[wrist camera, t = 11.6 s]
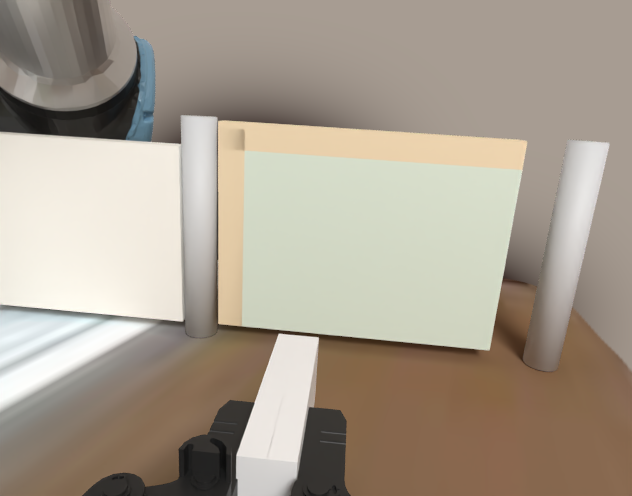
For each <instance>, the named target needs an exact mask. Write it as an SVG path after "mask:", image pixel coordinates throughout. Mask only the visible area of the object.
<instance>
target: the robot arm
mask: <svg viewBox="0 0 632 496" xmlns="http://www.w3.org/2000/svg"><path fill="white" fill-rule="evenodd" d="M154 104H155V59H154V52H153V49H152V46H151V44H150V43H149V42H148V41H146V40H144V39H139V38H138V37H137V36H133V34H132V31H131V29H130V27H129V26H128V24H127V23H126V21H125V20H124V19H123V17H122V16H121V15H120V14H119V13H118V12H117V11H116V10H115V9H114V8H112V7H111V1H110V0H0V132H12V133H26V134H41V135H56V136H70V137H85V138H99V139H114V140H128V141H143V142H151V138H152V132H153V112H154ZM318 343H319V337H309V336H298V335H287V334H279V335H278V338H277V341H276V343H275V346H274V349H273V352H272V355H271V358H270V361H269V363H268V366H267V369H266V372H265V375H264V378H263V381H262V384H261V386H260V389H259V392H258V395H257V398H256V401H255V403H253V402H243V401H233V400H230V401H228V402H227V403H226V404H225V405H224V406H223V407H221V408H220V409H219V411H218V413H217V415H216V417H215V419H214V423H213V424H212V426H211V428H210V432H209V433H208V435H200V436H196V437H193V438H191V439H189V440H188V441H186V442H184V443H183V445H182V446H181V447H180V448H179V475H180V477H179V479H178V480H176V481H173V482H171V483H167V484H163V485H156V486H150V487H145V484H144V483H143V481H142V479H141V478H140V477H138V476H136V475H135V474H130V473H119V474H113V475H110V476H108V477H105V478H103V479H101V480H100V481H98V482H97V483H96V484H94V485H93V486H92V487H91V488H90V489H89V490H88V491H87V492H86V493H85V494H84V495H83V496H351V495H350V494H349V493H348V491H347V489H346V487H345V481H344V475H345V448H346V422H347V421H346V419H345V418H344V416H343V414H342V412H341V411H340V410H333V409H323V408H314V402H315V388H316V373H317V358H318Z"/></svg>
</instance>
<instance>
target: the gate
mask: <svg viewBox="0 0 632 496" xmlns="http://www.w3.org/2000/svg"><path fill="white" fill-rule="evenodd" d="M526 147H527V141H523V140H515V139H499V138H484V137H469V136H453V135H452V136H451V135H438V134H423V133H408V132H391V131H377V130H362V129H347V128H330V127H316V126H301V125H285V124H270V123H253V122H239V121H219V122H218V167H219V168H218V185H219V186H218V324H224V325H234V326H244V327H254V328H265V329H275V330H285V331H295V332H306V333H316V334H326V335H336V336H347V337H357V338H367V339H377V340H388V341H398V342H408V343H418V344H429V345H439V346H449V347H459V348H470V349H480V350H490V345H491V339H492V334H493V328H494V323H495V317H496V312H497V306H498V301H499V295H500V290H501V284H502V279H503V273H504V268H505V262H506V257H507V251H508V246H509V240H510V235H511V229H512V224H513V218H514V213H515V207H516V201H517V196H518V191H519V185H520V180H521V174H522V169H523V163H524V157H525V152H526Z"/></svg>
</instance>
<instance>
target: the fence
mask: <svg viewBox="0 0 632 496" xmlns="http://www.w3.org/2000/svg"><path fill="white" fill-rule="evenodd" d="M608 148H609V143H604V142H594V141H583V140H568V141H567V146H566V150H565V155H564V160H563V164H562V169H561V174H560V179H559V184H558V189H557V194H556V199H555V204H554V208H553V213H552V218H551V223H550V228H549V233H548V237H547V242H546V247H545V252H544V257H543V262H542V267H541V272H540V276H539V281H538V286H537V291H536V296H535V301H534V306H533V311H532V315H531V320H530V325H529V330H528V335H527V340H526V345H525V349H524V354H523V361H524V363H525V364H527V365H528V366H530V367H532V368H534V369H537V370H540V371H546V372H552V371H556V370H557V369H558V365H559V361H560V357H561V352H562V348H563V344H564V339H565V335H566V331H567V326H568V322H569V318H570V313H571V309H572V304H573V300H574V296H575V291H576V287H577V283H578V278H579V274H580V270H581V265H582V261H583V257H584V253H585V248H586V244H587V239H588V235H589V231H590V227H591V222H592V218H593V213H594V209H595V205H596V200H597V196H598V192H599V187H600V183H601V178H602V174H603V170H604V166H605V161H606V157H607V153H608ZM217 260H218V192H217V117H210V116H193V115H181V144H171V143H157V142H143V141H128V140H114V139H99V138H85V137H70V136H56V135H41V134H26V133H12V132H0V304H1V305H12V306H23V307H33V308H44V309H54V310H65V311H76V312H86V313H97V314H107V315H118V316H129V317H139V318H150V319H160V320H171V321H182V322H183V321H184V319H185V332H186V334H187V335H188V336H190V337H194V338H205V337H210V336H212V335H214V334H215V333H216V332H217Z"/></svg>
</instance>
